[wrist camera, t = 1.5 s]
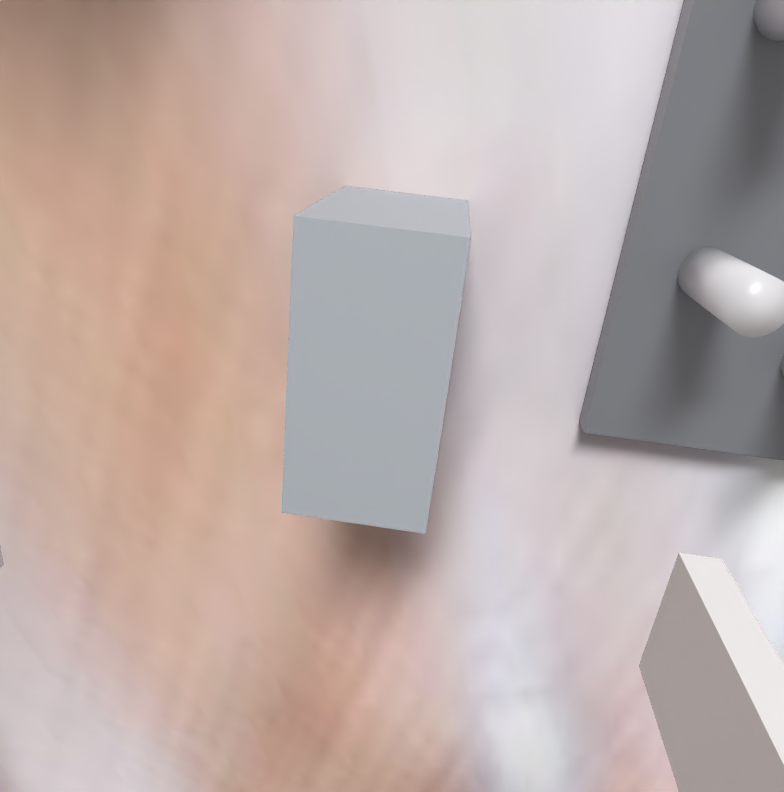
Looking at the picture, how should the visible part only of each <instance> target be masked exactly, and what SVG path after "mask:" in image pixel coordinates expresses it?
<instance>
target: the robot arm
mask: <svg viewBox="0 0 784 792" xmlns="http://www.w3.org/2000/svg"><path fill="white" fill-rule="evenodd" d="M3 565H4V564H3V559H2V553H1V547H0V568H1V567H2V566H3ZM639 667H640V671H641V674H642V677H643V680H644V683H645V686H646V689H647V693H648V696H649V699H650V702H651V705H652V708H653V711H654V715H655V718H656V721H657V724H658V727H659V730H660V733H661V736H662V740H663V743H664V746H665V749H666V752H667V755H668V758H669V762H670V765H671V768H672V771H673V774H674V777H675V780H676V783H677V787H678V790H679V792H784V664H783V662H782V661H781V659H780V657H779V656H778V654H777V652H776V650H775V649H774V647H773V645H772V644H771V642H770V640H769V638H768V637H767V635H766V633H765V632H764V630H763V628H762V626H761V625H760V623H759V621H758V620H757V618H756V616H755V615H754V613H753V611H752V609H751V608H750V606H749V604H748V603H747V601H746V599H745V597H744V596H743V594H742V592H741V591H740V589H739V587H738V586H737V584H736V582H735V580H734V579H733V577H732V575H731V574H730V572H729V570H728V568H727V567H726V565H725V563H724V562H723V560H722V559H718V558H711V557H705V556H698V555H691V554H685V553H679V554H678V556H677V559H676V562H675V565H674V568H673V571H672V573H671V576H670V579H669V582H668V585H667V588H666V590H665V593H664V596H663V599H662V602H661V605H660V607H659V610H658V613H657V616H656V619H655V621H654V624H653V627H652V630H651V633H650V636H649V638H648V641H647V644H646V647H645V650H644V653H643V655H642V658H641V661H640V664H639Z"/></svg>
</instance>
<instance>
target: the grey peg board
mask: <svg viewBox="0 0 784 792" xmlns="http://www.w3.org/2000/svg"><path fill="white" fill-rule="evenodd" d="M579 422H580V425H581V427H582V430H583V432H584V433H588V434H596V435H603V436H610V437H617V438H625V439H632V440H639V441H647V442H654V443H661V444H668V445H676V446H683V447H690V448H698V449H705V450H712V451H719V452H727V453H734V454H741V455H749V456H756V457H763V458H771V459H778V460H784V0H684V2H683V6H682V10H681V14H680V18H679V22H678V26H677V30H676V34H675V38H674V43H673V47H672V51H671V55H670V59H669V63H668V67H667V71H666V75H665V79H664V83H663V87H662V91H661V95H660V99H659V103H658V107H657V111H656V115H655V119H654V123H653V127H652V131H651V135H650V139H649V143H648V147H647V151H646V155H645V159H644V163H643V167H642V171H641V175H640V179H639V183H638V187H637V191H636V195H635V199H634V203H633V207H632V211H631V215H630V219H629V223H628V227H627V231H626V235H625V239H624V243H623V247H622V251H621V255H620V259H619V263H618V267H617V271H616V275H615V279H614V283H613V287H612V291H611V295H610V299H609V303H608V307H607V311H606V315H605V319H604V323H603V327H602V331H601V335H600V340H599V344H598V348H597V352H596V356H595V360H594V364H593V368H592V372H591V376H590V380H589V384H588V388H587V392H586V396H585V400H584V404H583V408H582V412H581V416H580V420H579Z"/></svg>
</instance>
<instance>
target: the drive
mask: <svg viewBox="0 0 784 792" xmlns="http://www.w3.org/2000/svg"><path fill="white" fill-rule="evenodd" d="M470 241H471V232H470V221H469V211H468V200H460V199H452V198H444V197H436V196H427V195H419V194H411V193H403V192H394V191H386V190H378V189H370V188H361V187H353V186H344V187H343V188H341V189H339V190H337V191H336V192H334V193H332V194H331V195H329V196H327V197H325V198H324V199H322V200H320V201H319V202H317V203H315V204H313V205H312V206H310V207H308V208H306V209H305V210H303V211H301V212H300V213H298V214H296V215H294V228H293V252H292V276H291V300H290V324H289V347H288V371H287V395H286V419H285V443H284V467H283V491H282V513H287V514H293V515H300V516H307V517H314V518H321V519H328V520H335V521H341V522H348V523H355V524H362V525H369V526H376V527H383V528H389V529H396V530H403V531H410V532H417V533H424V534H426V528H427V522H428V515H429V509H430V502H431V496H432V489H433V483H434V476H435V470H436V466H437V459H438V453H439V446H440V440H441V433H442V427H443V420H444V414H445V407H446V401H447V394H448V388H449V381H450V375H451V368H452V362H453V355H454V348H455V342H456V335H457V329H458V322H459V316H460V309H461V303H462V294H463V287H464V281H465V274H466V268H467V261H468V254H469V248H470Z"/></svg>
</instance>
